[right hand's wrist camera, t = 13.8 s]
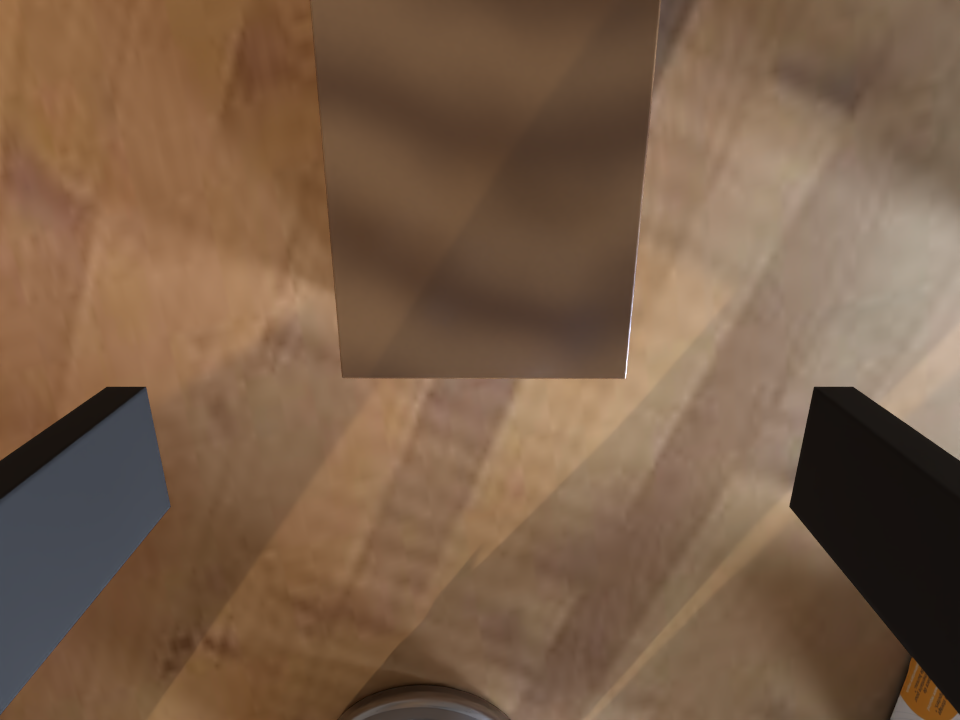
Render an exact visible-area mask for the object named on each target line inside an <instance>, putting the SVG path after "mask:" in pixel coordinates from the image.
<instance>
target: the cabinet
mask: <svg viewBox="0 0 960 720" xmlns="http://www.w3.org/2000/svg"><path fill="white" fill-rule="evenodd" d="M310 6H311V17H312V29H313V41H314V53H315V64H316V76H317V88H318V100H319V111H320V123H321V135H322V146H323V158H324V170H325V182H326V193H327V205H328V217H329V229H330V240H331V252H332V264H333V276H334V287H335V299H336V311H337V322H338V334H339V346H340V358H341V369H342V377H343V378H462V379H625V378H626V372H627V362H628V351H629V340H630V329H631V319H632V308H633V297H634V286H635V276H636V265H637V254H638V243H639V232H640V222H641V211H642V200H643V189H644V179H645V168H646V157H647V146H648V136H649V125H650V114H651V103H652V92H653V82H654V71H655V60H656V49H657V39H658V28H659V17H660V6H661V0H310Z"/></svg>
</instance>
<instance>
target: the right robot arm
mask: <svg viewBox="0 0 960 720" xmlns="http://www.w3.org/2000/svg"><path fill="white" fill-rule="evenodd" d="M170 507H171V506H170V501H169V496H168V491H167V487H166V482H165V477H164V472H163V467H162V462H161V457H160V453H159V448H158V443H157V438H156V433H155V428H154V424H153V419H152V414H151V409H150V404H149V399H148V394H147V390H146V387H106V388H105V389H103V390H102V391H100V392H99V393H97V394H96V395H95V396H93V397H92V398H90V399H89V400H87V401H86V402H84V403H83V404H82V405H80V406H79V407H77V408H76V409H74V410H73V411H71V412H70V413H69V414H67V415H66V416H64V417H63V418H61V419H60V420H58V421H57V422H56V423H54V424H53V425H51V426H50V427H48V428H47V429H46V430H44V431H43V432H41V433H40V434H38V435H37V436H35V437H34V438H33V439H31V440H30V441H28V442H27V443H25V444H24V445H22V446H21V447H20V448H18V449H17V450H15V451H14V452H12V453H11V454H9V455H8V456H7V457H5V458H4V459H2V460H1V461H0V715H1V713H2V712H3V711H4V710H5V709H6V707H7V706H8V705H9V704H10V702H11V701H12V700H13V699H14V698H15V696H16V695H17V694H18V693H19V691H20V690H21V689H22V688H23V687H24V685H25V684H26V683H27V682H28V680H29V679H30V678H31V677H32V676H33V674H34V673H35V672H36V671H37V669H38V668H39V667H40V666H41V665H42V663H43V662H44V661H45V660H46V658H47V657H48V656H49V655H50V654H51V652H52V651H53V650H54V649H55V647H56V646H57V645H58V644H59V642H60V641H61V640H62V639H63V638H64V636H65V635H66V634H67V633H68V631H69V630H70V629H71V628H72V627H73V625H74V624H75V623H76V622H77V620H78V619H79V618H80V617H81V616H82V614H83V613H84V612H85V611H86V609H87V608H88V607H89V606H90V605H91V603H92V602H93V601H94V600H95V598H96V597H97V596H98V595H99V594H100V592H101V591H102V590H103V589H104V587H105V586H106V585H107V584H108V583H109V581H110V580H111V579H112V578H113V576H114V575H115V574H116V573H117V572H118V570H119V569H120V568H121V567H122V565H123V564H124V563H125V562H126V561H127V559H128V558H129V557H130V556H131V554H132V553H133V552H134V551H135V550H136V548H137V547H138V546H139V545H140V543H141V542H142V541H143V540H144V539H145V537H146V536H147V535H148V534H149V532H150V531H151V530H152V529H153V528H154V526H155V525H156V524H157V523H158V521H159V520H160V519H161V518H162V517H163V515H164V514H165V513H166V512H167V510H168V509H169V508H170ZM789 507H790V508H791V509H792V510H793V512H794V513H795V514H796V515H797V517H798V518H799V519H800V520H801V521H802V523H803V524H804V525H805V526H806V528H807V529H808V530H809V531H810V532H811V534H812V535H813V536H814V537H815V539H816V540H817V541H818V542H819V543H820V545H821V546H822V547H823V548H824V550H825V551H826V552H827V553H828V554H829V556H830V557H831V558H832V559H833V561H834V562H835V563H836V564H837V565H838V567H839V568H840V569H841V570H842V572H843V573H844V574H845V575H846V576H847V578H848V579H849V580H850V581H851V583H852V584H853V585H854V586H855V587H856V589H857V590H858V591H859V592H860V594H861V595H862V596H863V597H864V598H865V600H866V601H867V602H868V603H869V605H870V606H871V607H872V608H873V609H874V611H875V612H876V613H877V614H878V616H879V617H880V618H881V619H882V620H883V622H884V623H885V624H886V625H887V627H888V628H889V629H890V630H891V631H892V633H893V634H894V635H895V636H896V638H897V639H898V640H899V641H900V642H901V644H902V645H903V646H904V647H905V649H906V650H907V651H908V652H909V654H910V655H911V656H912V657H913V658H914V660H915V661H916V662H917V663H918V665H919V666H920V667H921V668H922V669H923V671H924V672H925V673H926V674H927V676H928V677H929V678H930V679H931V680H932V682H933V683H934V684H935V685H936V687H937V688H938V689H939V690H940V691H941V693H942V694H943V695H944V696H945V698H946V699H947V700H948V701H949V702H950V704H951V705H952V706H953V707H954V709H955V710H956V711H957V712H958V713H959V715H960V461H959V460H958V459H956V458H955V457H953V456H952V455H951V454H949V453H948V452H946V451H945V450H943V449H942V448H940V447H939V446H938V445H936V444H935V443H933V442H932V441H930V440H929V439H927V438H926V437H925V436H923V435H922V434H920V433H919V432H917V431H916V430H914V429H913V428H912V427H910V426H909V425H907V424H906V423H904V422H903V421H902V420H900V419H899V418H897V417H896V416H894V415H893V414H891V413H890V412H889V411H887V410H886V409H884V408H883V407H881V406H880V405H878V404H877V403H876V402H874V401H873V400H871V399H870V398H868V397H867V396H865V395H864V394H863V393H861V392H860V391H858V390H857V389H855V388H854V387H814V390H813V394H812V399H811V404H810V409H809V414H808V419H807V423H806V428H805V433H804V438H803V443H802V448H801V453H800V457H799V462H798V467H797V472H796V477H795V482H794V487H793V491H792V496H791V501H790V506H789ZM338 720H510V719H509V718H508V717H507V716H506V715H505V714H504V713H503V712H502V711H500V710H499V709H498V708H496V707H495V706H493V705H492V704H491V703H489V702H487V701H485V700H483V699H482V698H479V697H477V696H475V695H472V694H470V693H467V692H464V691H460V690H457V689H453V688H447V687H441V686H431V685H413V686H403V687H397V688H392V689H388V690H384V691H381V692H378V693H376V694H373V695H371V696H369V697H366V698H364V699H363V700H361V701H359V702H357V703H356V704H354V705H353V706H352V707H350V708H349V709H348V710H347V711H346V712H344V713H343V714H342V716H341V717H340V718H339V719H338Z"/></svg>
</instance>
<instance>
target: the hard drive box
mask: <svg viewBox="0 0 960 720" xmlns="http://www.w3.org/2000/svg"><path fill="white" fill-rule="evenodd" d="M890 720H960V715H959V713H958V712H957V711H956V710H955V709H954V707H953V706H952V705H951V704H950V702H949V701H948V700H947V699H946V698H945V696H944V695H943V694H942V693H941V691H940V690H939V689H938V688H937V687H936V685H935V684H934V683H933V682H932V680H931V679H930V678H929V677H928V676H927V674H926V673H925V672H924V671H923V669H922V668H921V667H920V666H919V665H918V663H917V662H916V661H915V660H914V658H913V657H912V658H911V661H910V665H909V670H908V674H907V677H906V679H905V682H904V684H903V687H902V690H901V692H900V696H899V698H898V701H897V703H896V706H895V708H894V711H893V713H892V716H891V719H890Z"/></svg>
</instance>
